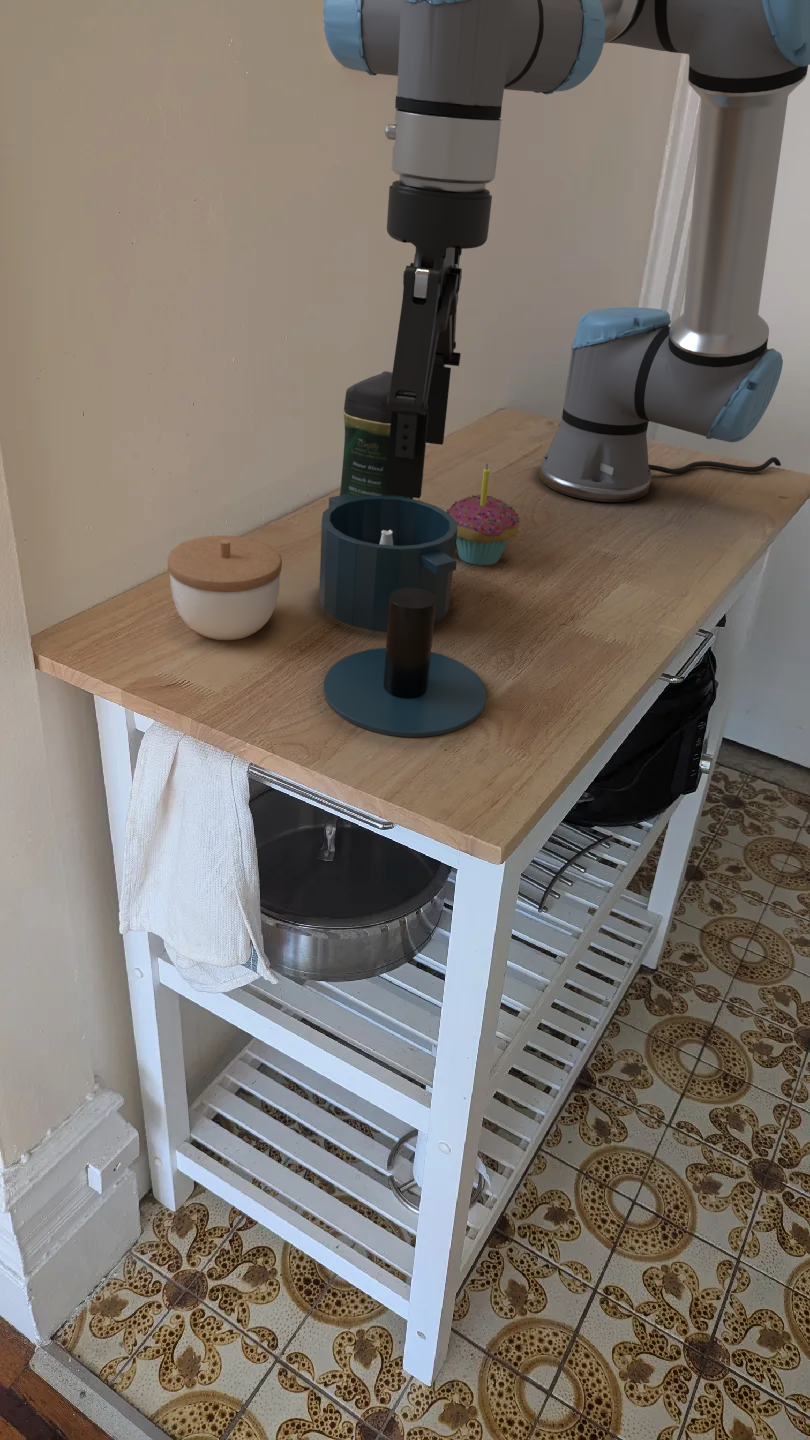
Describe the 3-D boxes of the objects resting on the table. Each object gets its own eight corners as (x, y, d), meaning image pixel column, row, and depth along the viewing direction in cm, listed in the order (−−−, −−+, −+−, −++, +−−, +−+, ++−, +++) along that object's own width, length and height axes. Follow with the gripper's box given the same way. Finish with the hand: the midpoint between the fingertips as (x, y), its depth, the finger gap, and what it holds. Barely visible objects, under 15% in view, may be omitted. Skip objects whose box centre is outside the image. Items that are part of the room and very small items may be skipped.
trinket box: (237, 667, 99) (236, 576, 94) (147, 634, 103) (142, 544, 98) (301, 624, 107) (304, 537, 102) (216, 595, 111) (214, 510, 106)
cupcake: (509, 577, 120) (523, 475, 114) (435, 566, 121) (445, 464, 115) (517, 548, 127) (531, 450, 121) (448, 537, 128) (458, 440, 122)
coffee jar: (388, 555, 123) (400, 394, 113) (327, 539, 125) (333, 380, 115) (420, 527, 130) (434, 374, 120) (362, 513, 133) (371, 362, 123)
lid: (420, 643, 106) (429, 549, 100) (518, 714, 96) (534, 614, 90) (292, 681, 98) (294, 581, 92) (385, 761, 88) (393, 655, 83)
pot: (384, 559, 122) (390, 479, 117) (490, 628, 109) (502, 543, 104) (282, 582, 115) (283, 499, 109) (383, 660, 102) (389, 570, 97)
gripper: (416, 163, 88) (396, 418, 99) (356, 195, 67) (340, 514, 78) (506, 172, 87) (476, 428, 98) (475, 208, 66) (441, 527, 77)
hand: (416, 466), depth 88 cm, fingers open, 13 cm apart
